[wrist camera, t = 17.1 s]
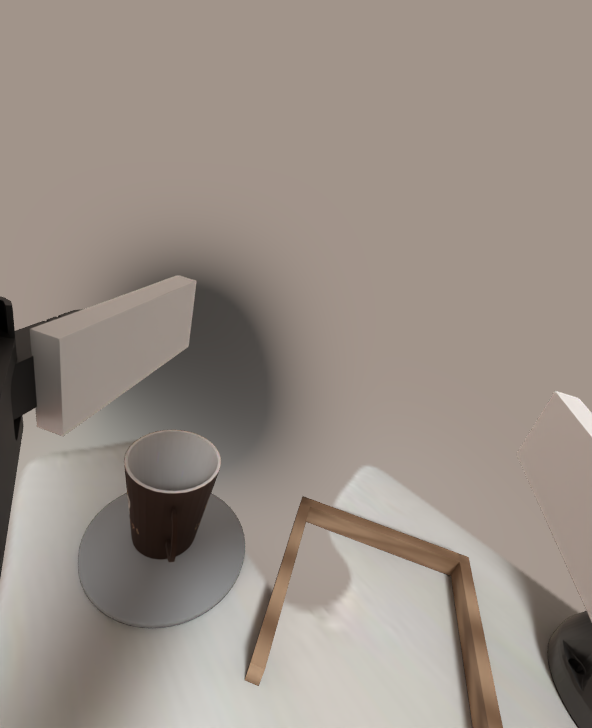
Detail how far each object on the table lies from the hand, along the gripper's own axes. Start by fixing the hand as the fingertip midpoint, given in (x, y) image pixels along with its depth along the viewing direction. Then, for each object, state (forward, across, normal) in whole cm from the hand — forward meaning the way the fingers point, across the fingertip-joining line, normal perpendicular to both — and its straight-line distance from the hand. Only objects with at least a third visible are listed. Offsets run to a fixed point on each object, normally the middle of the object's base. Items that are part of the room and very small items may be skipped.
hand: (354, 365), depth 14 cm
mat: (+13, -12, -31) cm, 36 cm away
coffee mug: (+12, -13, -31) cm, 35 cm away
